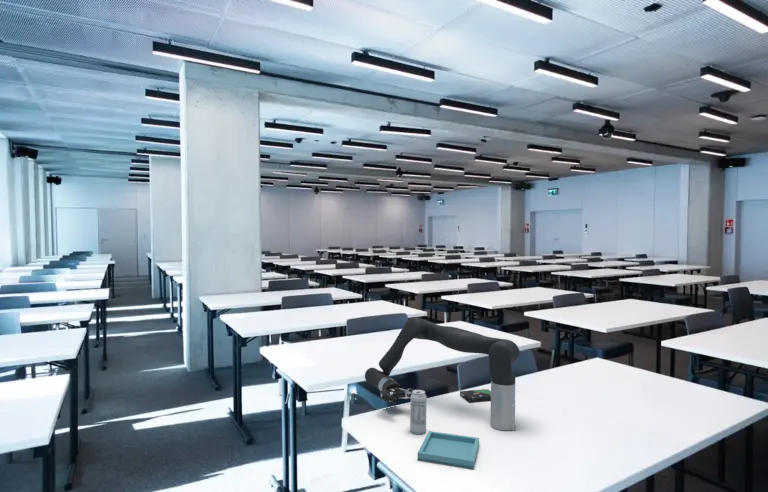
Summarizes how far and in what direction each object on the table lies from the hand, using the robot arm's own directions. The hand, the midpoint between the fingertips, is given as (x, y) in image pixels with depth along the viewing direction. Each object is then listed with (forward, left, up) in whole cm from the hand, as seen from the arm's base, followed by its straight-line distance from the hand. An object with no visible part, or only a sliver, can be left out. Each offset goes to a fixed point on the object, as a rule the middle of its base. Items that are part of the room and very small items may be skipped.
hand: (405, 400), depth 179 cm
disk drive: (-25, -37, -9) cm, 46 cm away
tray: (-21, +22, -8) cm, 31 cm away
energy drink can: (-7, +9, -8) cm, 14 cm away
